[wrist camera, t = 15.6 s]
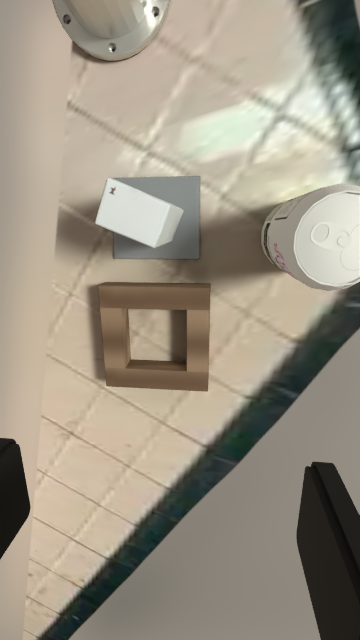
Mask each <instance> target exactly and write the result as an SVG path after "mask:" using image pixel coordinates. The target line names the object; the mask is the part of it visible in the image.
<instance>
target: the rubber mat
mask: <svg viewBox="0 0 360 640" xmlns="http://www.w3.org/2000/svg"><path fill="white" fill-rule="evenodd" d="M112 179H114V180H117V181H119V182H121V183H124V184H126V185H128V186H131V187H133V188H135V189H138V190H140V191H142V192H145V193H147V194H149V195H152V196H154V197H156V198H159V199H161V200H164V201H166V202H168V203H171V204H173V205H175V206H177V207H179V208H181V209H183V210H184V211H183V214H182V217H181V219H180V222H179V224H178V227H177V229H176V232H175V234H174V237H173V239H172V241H171V242H169V243H166V244H164V245H161V246H159V247H156V248H152V247H150V246H147V245H145V244H142V243H140V242H138V241H135V240H133V239H130V238H128V237H125V236H123V235H120V234H117V233H115V232H113V240H114V256H115V258H125V259H199V242H200V176H181V177H140V178H112Z"/></svg>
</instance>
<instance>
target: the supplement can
mask: <svg viewBox="0 0 360 640" xmlns="http://www.w3.org/2000/svg"><path fill="white" fill-rule="evenodd" d="M261 245H262V248H263V251H264V254H265V255H266V257H267V258H268V259H269V260H270V261H271V263H272V264H274V265H276V266H277V267H279V268H280V269H282V270H283V271H285V272H286V273H288V274H289V275H291V276H292V277H294V278H295V279H297V280H299V281H300V282H302V283H304V284H306V285H307V286H309V287H311V288H315V289H321V290H327V291H331V290H337V289H343V288H348V287H350V286H352V285H354V284H356V283H358V282H360V186H354V185H347V184H337V185H333V186H328V187H323V188H320V189H317V190H315V191H312V192H309V193H307V194H304V195H301V196H299V197H296V198H294V199H291V200H288V201H286V202H284V203H283V204H281V205H279V206H278V207H276V208H275V209H274V210H273V211H272V212H271V213H270V215H269V216H268V217H267V218H266V220H265V223H264V225H263V228H262V230H261Z"/></svg>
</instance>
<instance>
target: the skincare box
mask: <svg viewBox="0 0 360 640" xmlns="http://www.w3.org/2000/svg"><path fill="white" fill-rule="evenodd" d="M183 211H184V210H183V209H181V208H179V207H177V206H175V205H173V204H171V203H168V202H166V201H164V200H161V199H159V198H156V197H154V196H152V195H149V194H147V193H145V192H142V191H140V190H138V189H135V188H133V187H131V186H128V185H126V184H124V183H121V182H119V181H117V180H114V179H112V178H107V180H106V184H105V188H104V192H103V195H102V199H101V203H100V206H99V210H98V214H97V217H96V221H95V224H97V225H99V226H101V227H104V228H106V229H108V230H110V231H113V232H115V233H117V234H120V235H123V236H125V237H128V238H130V239H133V240H135V241H138V242H140V243H142V244H145V245H147V246H150V247H152V248H156V247H159V246H161V245H164V244H166V243H169V242H171V241H172V239H173V237H174V234H175V232H176V229H177V227H178V224H179V222H180V219H181V217H182V214H183Z"/></svg>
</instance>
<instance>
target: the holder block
mask: <svg viewBox="0 0 360 640" xmlns="http://www.w3.org/2000/svg"><path fill="white" fill-rule="evenodd" d="M210 286H211V284H199V283H129V282H106V283H104V284H102V285H100V286H98V289H99V302H100V314H101V326H102V339H103V351H104V363H105V375H106V386H113V387H132V388H151V389H170V390H189V391H208V375H209V330H210ZM128 308H131V309H173V310H187V362H176V361H152V360H131V354H130V336H129V318H128Z"/></svg>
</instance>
